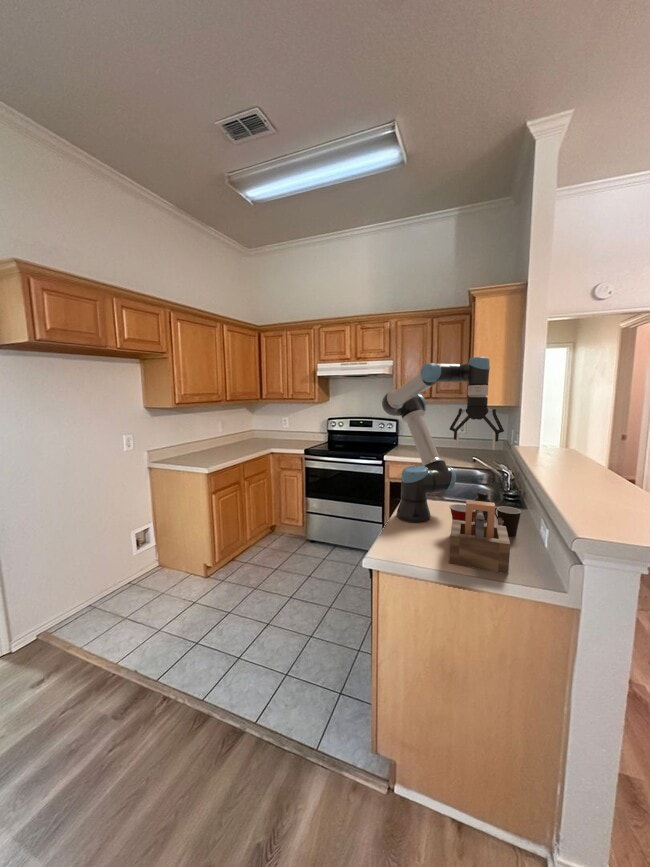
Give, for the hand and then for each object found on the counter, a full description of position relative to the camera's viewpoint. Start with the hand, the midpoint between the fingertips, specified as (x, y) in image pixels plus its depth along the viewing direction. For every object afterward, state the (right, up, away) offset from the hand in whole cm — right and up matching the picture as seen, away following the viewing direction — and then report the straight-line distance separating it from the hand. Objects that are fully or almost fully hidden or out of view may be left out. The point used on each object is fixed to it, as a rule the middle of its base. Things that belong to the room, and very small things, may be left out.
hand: (475, 448), depth 145 cm
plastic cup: (-6, -35, -1) cm, 36 cm away
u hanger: (-8, -31, -22) cm, 38 cm away
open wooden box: (-8, -38, -21) cm, 44 cm away
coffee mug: (+14, -35, +2) cm, 38 cm away
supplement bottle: (+11, -33, +18) cm, 39 cm away
